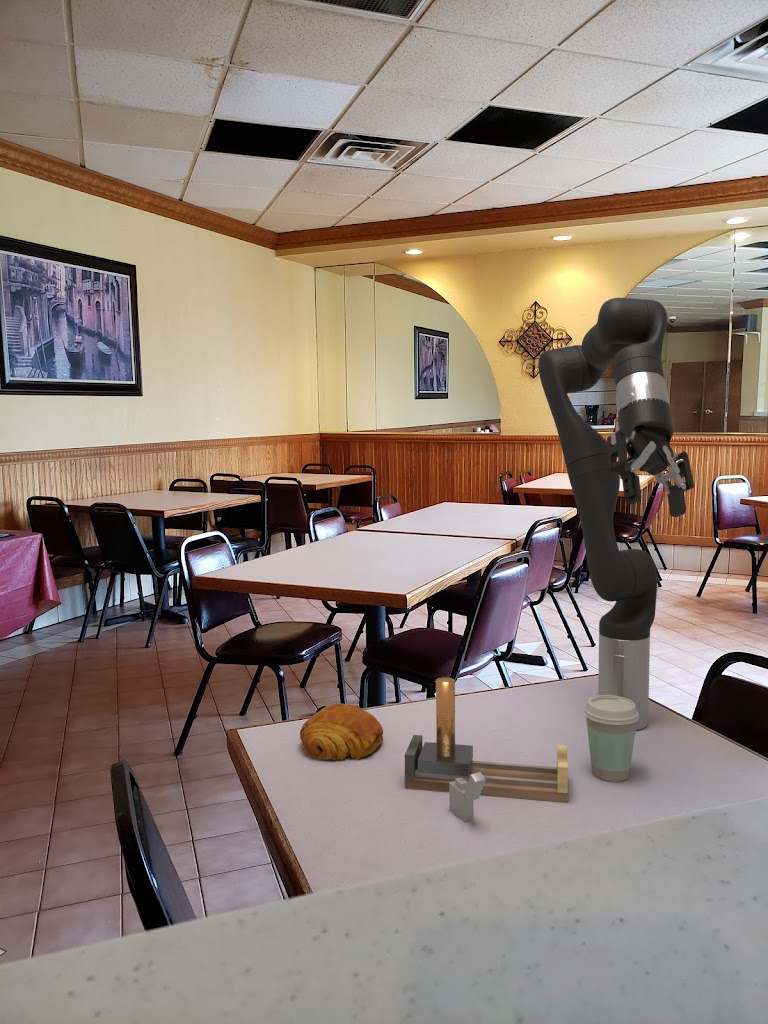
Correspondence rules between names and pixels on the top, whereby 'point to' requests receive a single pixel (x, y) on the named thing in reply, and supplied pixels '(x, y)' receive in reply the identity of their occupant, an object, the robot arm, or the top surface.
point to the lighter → (465, 795)
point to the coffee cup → (611, 735)
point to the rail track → (496, 777)
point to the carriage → (445, 738)
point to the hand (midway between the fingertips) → (656, 508)
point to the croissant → (341, 733)
